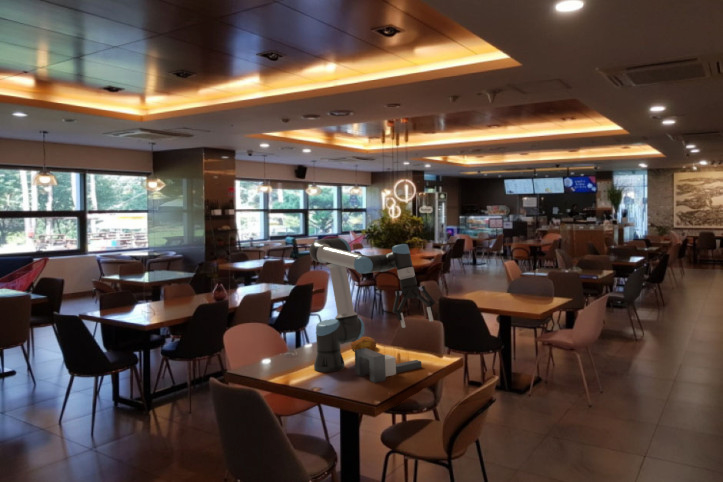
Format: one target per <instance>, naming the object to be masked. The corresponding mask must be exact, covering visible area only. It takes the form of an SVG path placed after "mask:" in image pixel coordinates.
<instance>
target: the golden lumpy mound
mask: <svg viewBox="0 0 723 482" xmlns="http://www.w3.org/2000/svg"><path fill="white" fill-rule="evenodd" d="M350 345H351V346H350V347H351V349H352V350H353V351H354V350H358V349H363V348H367V349H369V350H372V351H375V349H376V347H377V342H376V340H375V339H374V338H373V337H371V336H369V335H368V336H362V337H361V338H360V339H359V340H356V341H354V342H350Z"/></svg>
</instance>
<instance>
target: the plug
mask: <svg viewBox="0 0 723 482" xmlns="http://www.w3.org/2000/svg"><path fill="white" fill-rule="evenodd" d="M384 355H385V372H386V377H389V376H390V377H391V376H394V375H397V374H398V373H404V372H407V371H411V370H417V369H421V368H422V361H421V360H418V359H413V360H410V361H404V362H399V363H396V360H397V359H396V357H395V356H392V355H390V354H384Z"/></svg>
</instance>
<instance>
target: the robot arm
mask: <svg viewBox="0 0 723 482" xmlns="http://www.w3.org/2000/svg"><path fill="white" fill-rule="evenodd" d="M391 248H392V249H391V252H389V253H385V254H377V255H365V254H362V253H361V254H360V253H357V252H353V251H352V248H351V246H350V244H349V242H348V241H347V240H346V239H345V238H342V237H334V238H320V239H316V240H315V241H313V242H312V243H311V245H310V247H309V255H310V258H311V259H312V260H313V261H315V262H317V263H320V264H325V266H326V267H327V268H328V269H329V271H330V278H331V285H332V288H333V296H334V301H335V308H336V313H337V314H336V316H335V317H334V318H330V319H325V320H322V321H319V322H318V323H317V324H316V327H315V337H316V339H315V340H316V356H315V359H314V365H313V367H314V368H313V369H314V371H317V372H321V373H322V372H323V373H331V372H332V373H333V372H338V371H341V370H344V369H345V367H346V366H345V360H344V358H343V356H342V352H341V345H344V344H349V343H352V342H354V341H356V340H359V339H360V338H361V337H363V336H364V334H365V323H364V321H363V319H362V318H360V317H358V312H356V311H355V310H354V305H353V304H354V303H353V298H352V292H351V287H350V282H349V277H348V276H349V274H348V270H347V268H349V269H351V270H355V271H356V272H357V273H358V274H370V273H376V272H381V273H383V272H388V271H390V270H393V269H396V270H397V271H396V272H397V276H398V279H399V285H400V290H395V292H394V294H395V297H394V303H393V307H392V311H391V312H392V313H393V314H396V316H397V320H398V321H400V324H401V328H404V329H405V328H406V322H405V317H404V314H403V312H402V310H403V308H404V305H405V304H406V302H407V301H408V300H410V299H414V298H415V299H418V300H420V302H422V303H423V304H425V306H427V307H426V312H427V315H428V320H429V322H434V316H433V314H434V310H433V305H435V304H436V301H435V300H434V298H433V297H432V296H431V295H430V293H429V292H428V291H427V290H426V287H425V285H420V286H418V281H417V278H416V274H415V268H414V265H413V260H412V256H411V251H410V248H409V245H408V244H407V243H401V244H397V245H393V246H392V247H391ZM420 292H421V293H422V294H423V295H422V294H421V293H420ZM401 295H403V297H402V299H401V301H400V298H401ZM399 301H400V304H399Z"/></svg>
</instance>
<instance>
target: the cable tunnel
mask: <svg viewBox="0 0 723 482" xmlns="http://www.w3.org/2000/svg"><path fill="white" fill-rule="evenodd" d="M385 355H386V354H382V353H381V352H378V351H375V350H373V351H372V350H369V349H367V348H363V349H358V350H355V351H354V364H355V365H354V367H355V368H354V369H355V375H357V376H358V375H359V376H358V377H363V376H368V375H369V381H370V382H372V383H374V384H375V383H376V384H377V383H379V382H380V383H381V382H384V381H385V382H386V381H387V376H386V372H385Z"/></svg>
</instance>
